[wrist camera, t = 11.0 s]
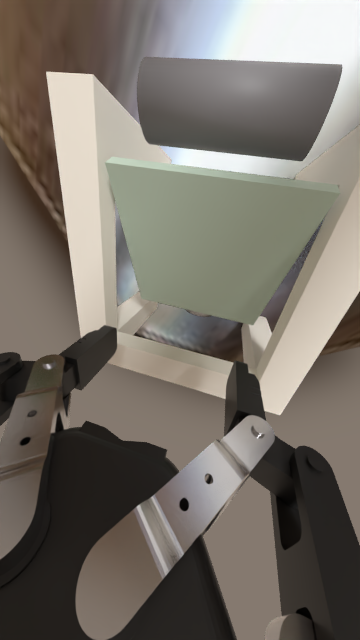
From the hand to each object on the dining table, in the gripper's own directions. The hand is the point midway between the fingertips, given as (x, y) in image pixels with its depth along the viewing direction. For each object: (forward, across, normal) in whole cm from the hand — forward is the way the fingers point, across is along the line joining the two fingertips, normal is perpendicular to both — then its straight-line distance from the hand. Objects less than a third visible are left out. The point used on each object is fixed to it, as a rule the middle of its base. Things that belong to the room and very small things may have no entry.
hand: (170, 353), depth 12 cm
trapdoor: (+11, 0, -8) cm, 14 cm away
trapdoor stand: (+20, 0, -4) cm, 20 cm away
